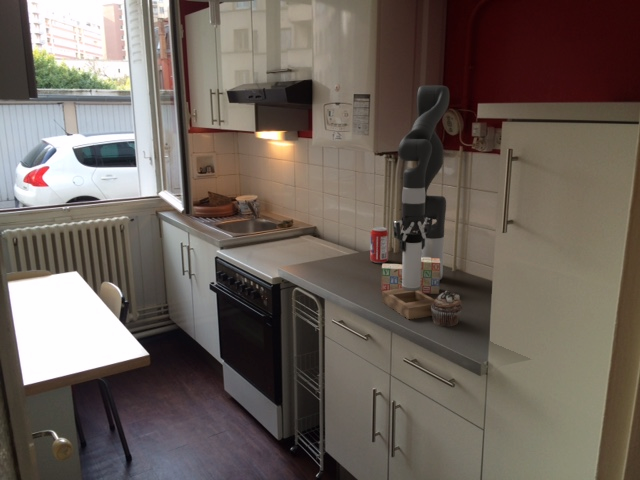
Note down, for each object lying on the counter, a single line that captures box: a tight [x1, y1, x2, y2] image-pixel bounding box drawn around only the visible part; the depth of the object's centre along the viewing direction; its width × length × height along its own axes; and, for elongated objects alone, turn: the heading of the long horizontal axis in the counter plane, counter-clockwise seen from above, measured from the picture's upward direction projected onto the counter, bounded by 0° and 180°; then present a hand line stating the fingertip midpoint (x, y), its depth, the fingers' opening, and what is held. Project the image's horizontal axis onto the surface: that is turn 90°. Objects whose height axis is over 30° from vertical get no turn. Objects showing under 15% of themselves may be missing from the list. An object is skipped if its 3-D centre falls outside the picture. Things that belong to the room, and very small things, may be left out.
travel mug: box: [401, 231, 422, 291], centre depth 185 cm, size 6×7×20 cm
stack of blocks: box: [380, 257, 441, 295], centre depth 206 cm, size 21×6×12 cm, turn 81°
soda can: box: [369, 226, 390, 264], centre depth 243 cm, size 8×8×15 cm
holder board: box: [381, 288, 435, 320], centre depth 189 cm, size 18×12×4 cm, turn 22°
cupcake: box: [431, 289, 463, 327], centre depth 176 cm, size 10×10×10 cm
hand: (411, 249), depth 184 cm, fingers closed on travel mug, 6 cm apart
